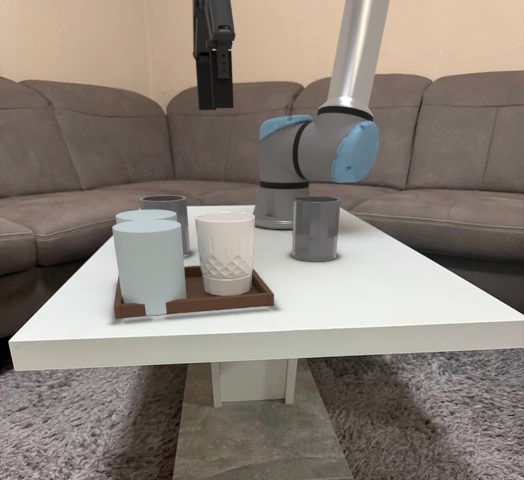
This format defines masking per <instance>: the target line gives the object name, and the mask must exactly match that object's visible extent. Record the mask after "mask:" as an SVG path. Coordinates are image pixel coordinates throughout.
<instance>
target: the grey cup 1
mask: <svg viewBox="0 0 524 480" xmlns="http://www.w3.org/2000/svg"><path fill="white" fill-rule="evenodd" d="M139 207H140V208H139V210H168V211H173V212H175V213H176V215H177V222H179V223H180V224H181V232H182V245H183V256H185V255H188V254H189V253H190V252H191V243H190V230H189V229H190V228H189V216H188V201H187V197H186V196H183V195H178V194H177V195H175V194H174V195H173V194H159V195H147V196H142V197H140V198H139Z"/></svg>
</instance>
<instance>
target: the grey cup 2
mask: <svg viewBox="0 0 524 480" xmlns="http://www.w3.org/2000/svg"><path fill="white" fill-rule="evenodd" d="M340 212H341V198H339V197H335V196H327V195H310V196H302V197H296V198H294V209H293V229H292V241H291V243H292V246H291V247H292V249H291V253H292V254H291V255H292V257H293V258H294V259H296V260H298V261H299V260H300V261H304V262H315V263H316V262H327V261H332V260H335V259H336V258H337V254H338V253H337V252H338V241H339V240H338V238H339V225H340Z"/></svg>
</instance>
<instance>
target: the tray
mask: <svg viewBox="0 0 524 480" xmlns="http://www.w3.org/2000/svg"><path fill="white" fill-rule="evenodd" d="M184 271H185V284H186V297H187V299H179V300H174V301H170V302H166V312H167V314H163V315H162V316H164V315H176V314H177V315H179V314H191V313H200V312H212V311H214V312H215V311H224V310H238V309H248V308H249V309H250V308H261V307H271V306H273V307H274V306H275V294H274V292H273V291H272V290H271V288H270V287H269V286H268V284H267V283H266V282H265V280H264V279H263V278H262V277H261V276H260V275H259V273H258V271H256V270H255V268H253V269H252V288H251V289H250V291H249V292H246V293H244V294H241V295H230V296H217V295H212V294H209V293H207V292H205V290H204V287H203V277H202V272H201V265H200V264H199V265H186V266H185V265H184ZM116 283H117V284H116V288H115V289H116V291H115V295H114V302H113V311H114V316H115V319H116V320H118V319H130V318H141V317H143V318H144V317H147V316H146V310H145V304H137V303H127V304H123V301H122V293H121V286H120V279H119V274H118V275H117V281H116ZM153 316H155V315H153ZM153 316H152V317H153Z"/></svg>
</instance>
